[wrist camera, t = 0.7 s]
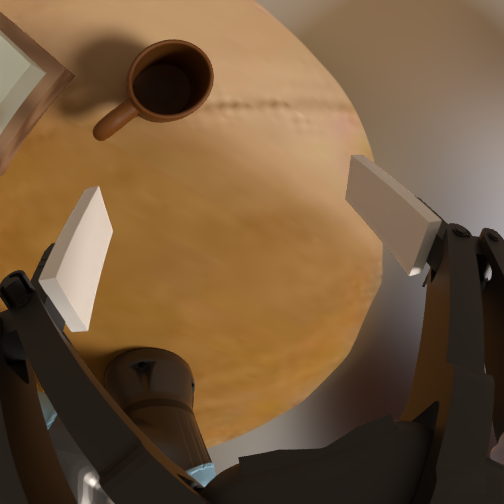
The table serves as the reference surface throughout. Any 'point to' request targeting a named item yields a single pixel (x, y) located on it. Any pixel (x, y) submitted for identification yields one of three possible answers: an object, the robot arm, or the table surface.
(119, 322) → the table surface
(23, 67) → the top block
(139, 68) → the mug
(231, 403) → the table surface
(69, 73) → the base block
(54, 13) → the table surface
